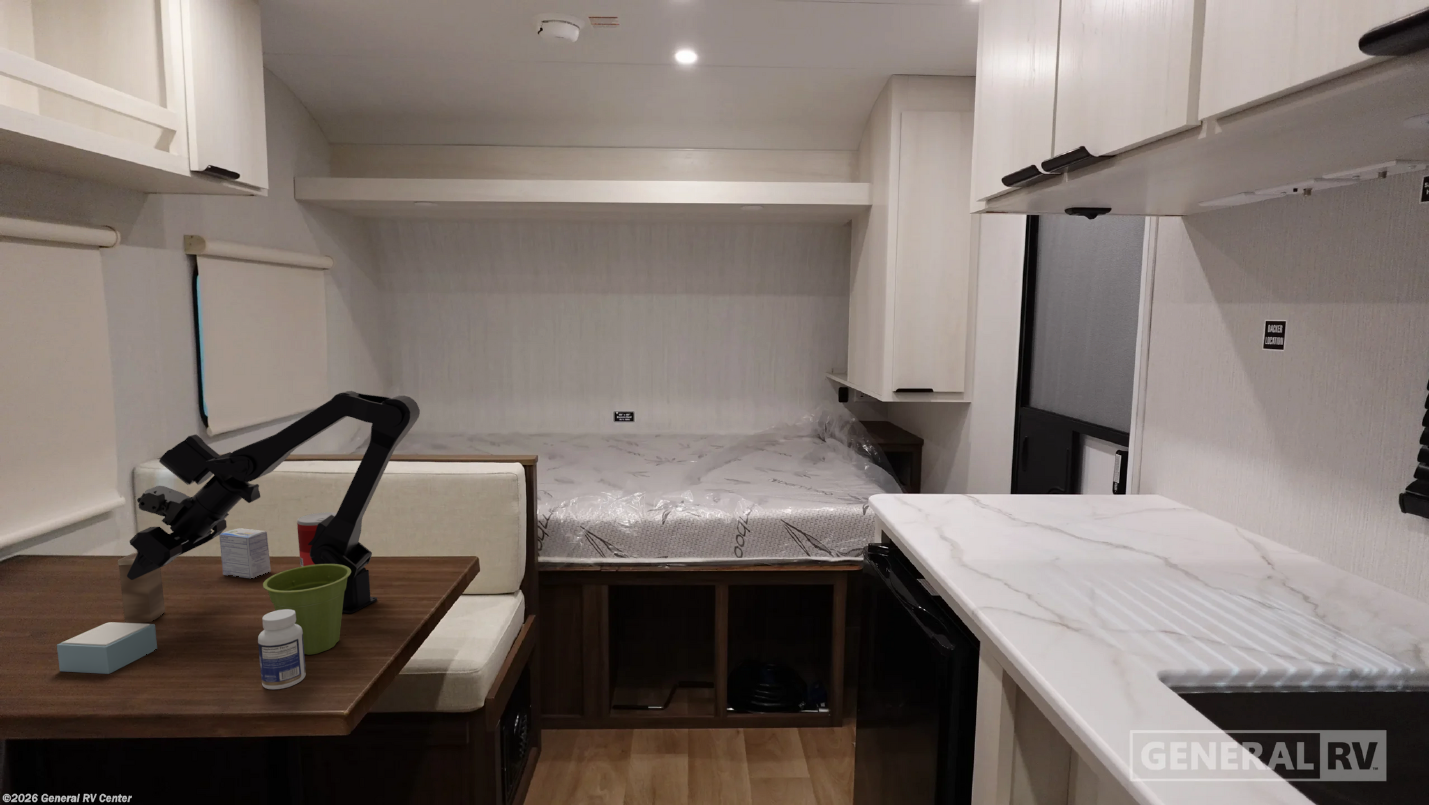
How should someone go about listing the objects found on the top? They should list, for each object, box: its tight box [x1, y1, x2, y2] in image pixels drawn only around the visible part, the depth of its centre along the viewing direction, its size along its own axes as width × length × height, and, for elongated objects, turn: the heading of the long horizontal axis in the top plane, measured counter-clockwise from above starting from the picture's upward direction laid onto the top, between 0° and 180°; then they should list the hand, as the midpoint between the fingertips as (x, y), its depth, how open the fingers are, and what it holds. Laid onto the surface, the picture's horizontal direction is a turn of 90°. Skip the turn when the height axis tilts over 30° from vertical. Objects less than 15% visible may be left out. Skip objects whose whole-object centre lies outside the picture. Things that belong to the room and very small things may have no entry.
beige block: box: [117, 552, 166, 624], centre depth 125 cm, size 4×4×11 cm
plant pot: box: [262, 564, 351, 656], centre depth 113 cm, size 12×12×11 cm
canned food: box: [296, 512, 337, 567], centre depth 149 cm, size 8×8×11 cm
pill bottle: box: [257, 609, 307, 690], centre depth 103 cm, size 5×5×10 cm
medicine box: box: [218, 527, 271, 579], centre depth 147 cm, size 8×4×9 cm, turn 71°
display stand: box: [56, 621, 158, 675], centre depth 110 cm, size 8×8×4 cm
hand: (147, 568), depth 125 cm, fingers open, 9 cm apart
